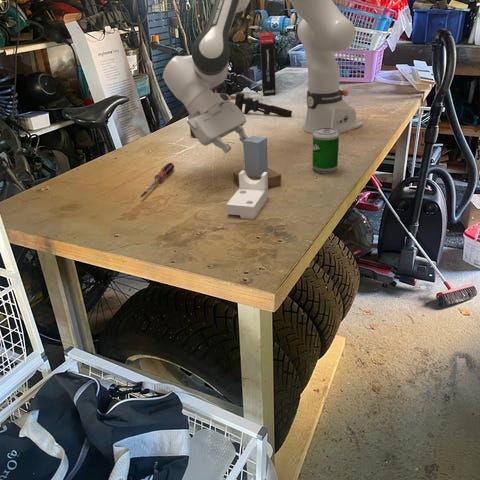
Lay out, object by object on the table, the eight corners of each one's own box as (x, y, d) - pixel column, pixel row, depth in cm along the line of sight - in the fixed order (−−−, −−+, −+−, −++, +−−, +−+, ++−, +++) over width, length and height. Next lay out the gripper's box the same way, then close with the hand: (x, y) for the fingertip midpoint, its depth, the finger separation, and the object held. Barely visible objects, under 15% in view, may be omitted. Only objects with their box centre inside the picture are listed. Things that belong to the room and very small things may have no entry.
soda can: (339, 166, 145) (341, 127, 139) (335, 175, 139) (337, 134, 133) (314, 164, 148) (315, 126, 142) (309, 173, 141) (310, 133, 136)
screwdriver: (146, 202, 130) (145, 192, 129) (136, 201, 131) (135, 191, 129) (176, 169, 151) (175, 160, 150) (168, 169, 152) (166, 160, 150)
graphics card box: (276, 95, 232) (275, 35, 219) (262, 96, 232) (260, 36, 219) (274, 88, 247) (273, 31, 234) (261, 89, 247) (259, 32, 234)
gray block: (253, 169, 138) (252, 135, 134) (268, 171, 136) (267, 137, 131) (245, 175, 135) (243, 140, 130) (259, 177, 133) (258, 142, 128)
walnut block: (262, 174, 143) (262, 164, 141) (280, 184, 135) (280, 174, 134) (233, 182, 139) (232, 172, 137) (250, 193, 131) (249, 183, 130)
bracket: (243, 196, 130) (241, 170, 127) (268, 198, 128) (267, 172, 124) (227, 217, 120) (225, 189, 116) (254, 220, 117) (252, 191, 114)
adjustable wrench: (286, 129, 199) (233, 113, 206) (289, 127, 201) (236, 111, 208) (290, 109, 194) (236, 94, 202) (293, 107, 196) (239, 92, 204)
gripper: (189, 109, 125) (223, 150, 125) (231, 93, 140) (261, 129, 140) (178, 125, 129) (211, 164, 129) (219, 107, 144) (248, 142, 144)
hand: (237, 145), depth 134 cm, fingers open, 8 cm apart
